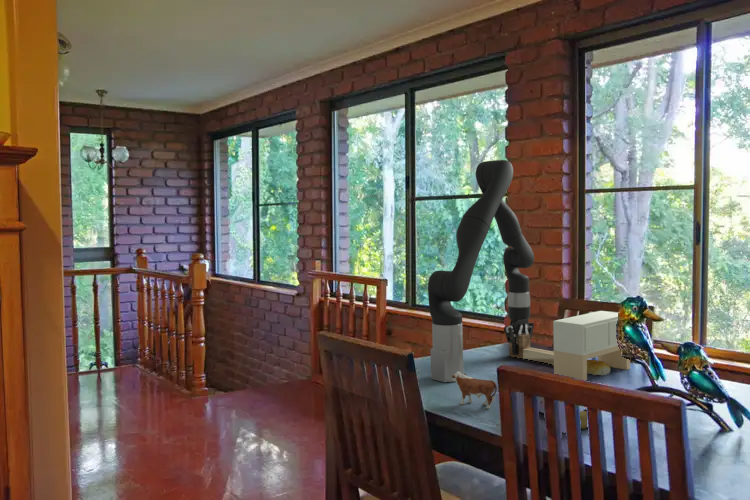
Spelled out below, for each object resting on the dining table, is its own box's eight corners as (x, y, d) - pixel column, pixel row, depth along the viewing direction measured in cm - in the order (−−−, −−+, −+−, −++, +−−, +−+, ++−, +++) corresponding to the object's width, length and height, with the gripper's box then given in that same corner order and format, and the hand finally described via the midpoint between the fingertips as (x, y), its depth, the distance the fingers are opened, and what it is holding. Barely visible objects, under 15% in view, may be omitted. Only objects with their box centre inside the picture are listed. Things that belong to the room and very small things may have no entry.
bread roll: (594, 368, 200) (594, 355, 200) (614, 374, 192) (614, 361, 191) (573, 371, 197) (573, 358, 197) (593, 377, 188) (593, 364, 188)
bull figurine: (455, 398, 171) (455, 369, 170) (499, 406, 162) (499, 376, 162) (447, 402, 167) (446, 372, 167) (491, 411, 159) (491, 379, 158)
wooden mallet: (568, 368, 199) (568, 343, 199) (509, 356, 218) (508, 333, 218) (575, 366, 202) (575, 341, 201) (516, 354, 221) (516, 332, 220)
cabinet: (584, 384, 180) (584, 324, 179) (554, 377, 188) (553, 320, 187) (631, 369, 196) (631, 314, 195) (601, 363, 205) (601, 310, 204)
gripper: (514, 308, 209) (515, 358, 210) (540, 303, 218) (541, 352, 218) (497, 306, 214) (498, 355, 215) (523, 301, 223) (523, 348, 224)
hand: (519, 353), depth 217 cm, fingers closed on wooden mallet, 4 cm apart
